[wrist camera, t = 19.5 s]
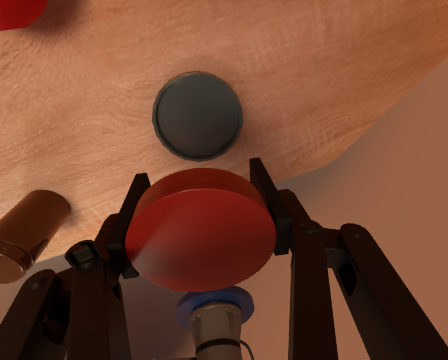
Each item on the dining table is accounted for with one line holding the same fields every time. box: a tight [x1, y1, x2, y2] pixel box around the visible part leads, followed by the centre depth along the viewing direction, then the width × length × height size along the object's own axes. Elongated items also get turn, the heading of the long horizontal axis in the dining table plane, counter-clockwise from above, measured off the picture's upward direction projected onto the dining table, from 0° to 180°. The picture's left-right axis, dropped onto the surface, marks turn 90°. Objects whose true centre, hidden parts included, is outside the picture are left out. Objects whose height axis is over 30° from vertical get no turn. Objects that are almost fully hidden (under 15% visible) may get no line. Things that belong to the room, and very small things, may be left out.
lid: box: [125, 168, 276, 292], centre depth 12 cm, size 8×8×2 cm
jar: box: [0, 190, 71, 284], centre depth 30 cm, size 6×6×12 cm
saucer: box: [152, 71, 243, 162], centre depth 30 cm, size 12×12×2 cm
